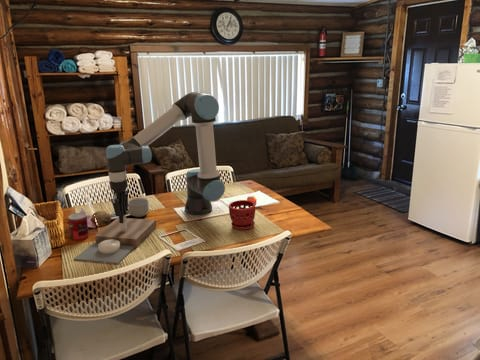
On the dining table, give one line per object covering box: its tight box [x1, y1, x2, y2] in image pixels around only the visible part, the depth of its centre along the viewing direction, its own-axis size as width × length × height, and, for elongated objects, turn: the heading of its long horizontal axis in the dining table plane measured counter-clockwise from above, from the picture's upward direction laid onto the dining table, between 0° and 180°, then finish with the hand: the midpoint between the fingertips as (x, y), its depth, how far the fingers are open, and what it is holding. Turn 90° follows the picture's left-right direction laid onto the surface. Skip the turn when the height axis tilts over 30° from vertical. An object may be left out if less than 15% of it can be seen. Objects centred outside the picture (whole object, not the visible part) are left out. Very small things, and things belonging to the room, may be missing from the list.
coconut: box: [90, 210, 112, 227], centre depth 200 cm, size 10×10×8 cm
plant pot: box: [228, 199, 256, 231], centre depth 194 cm, size 13×13×12 cm
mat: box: [73, 242, 135, 265], centre depth 168 cm, size 20×15×1 cm
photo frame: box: [158, 228, 206, 252], centre depth 181 cm, size 15×1×18 cm
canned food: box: [67, 212, 90, 242], centre depth 183 cm, size 8×8×11 cm
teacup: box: [127, 197, 150, 218], centre depth 210 cm, size 14×11×8 cm
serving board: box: [94, 217, 157, 248], centre depth 186 cm, size 20×22×4 cm
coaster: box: [98, 239, 120, 254], centre depth 171 cm, size 9×9×2 cm
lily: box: [79, 207, 97, 229], centre depth 193 cm, size 12×12×10 cm
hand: (123, 228), depth 181 cm, fingers closed
